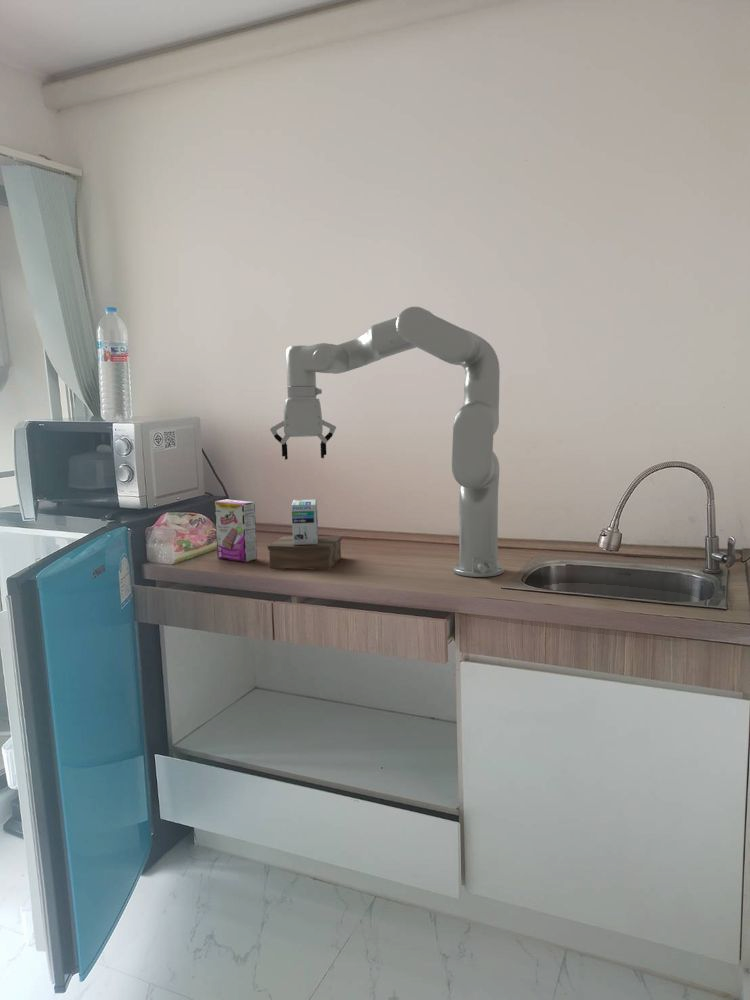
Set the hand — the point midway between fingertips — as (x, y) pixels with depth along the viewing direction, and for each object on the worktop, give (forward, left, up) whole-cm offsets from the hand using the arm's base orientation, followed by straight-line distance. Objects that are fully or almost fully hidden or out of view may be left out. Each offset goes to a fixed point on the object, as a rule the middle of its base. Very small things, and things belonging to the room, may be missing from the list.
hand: (304, 458), depth 194 cm
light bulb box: (0, 0, -23) cm, 23 cm away
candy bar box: (+9, +20, -29) cm, 36 cm away
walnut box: (0, 0, -29) cm, 29 cm away
